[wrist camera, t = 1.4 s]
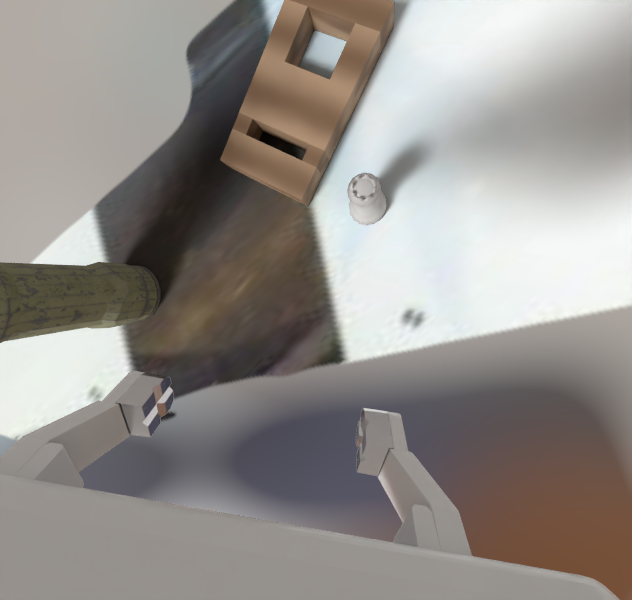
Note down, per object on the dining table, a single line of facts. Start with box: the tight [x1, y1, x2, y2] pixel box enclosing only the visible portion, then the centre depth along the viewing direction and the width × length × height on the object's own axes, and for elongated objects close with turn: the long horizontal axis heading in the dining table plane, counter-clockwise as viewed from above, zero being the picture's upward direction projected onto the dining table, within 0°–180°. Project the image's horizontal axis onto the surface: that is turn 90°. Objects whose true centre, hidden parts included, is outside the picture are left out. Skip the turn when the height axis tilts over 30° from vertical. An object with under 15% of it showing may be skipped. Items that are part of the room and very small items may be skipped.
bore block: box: [220, 0, 394, 206], centre depth 34 cm, size 22×12×3 cm, turn 152°
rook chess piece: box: [347, 173, 387, 225], centre depth 31 cm, size 4×4×8 cm
